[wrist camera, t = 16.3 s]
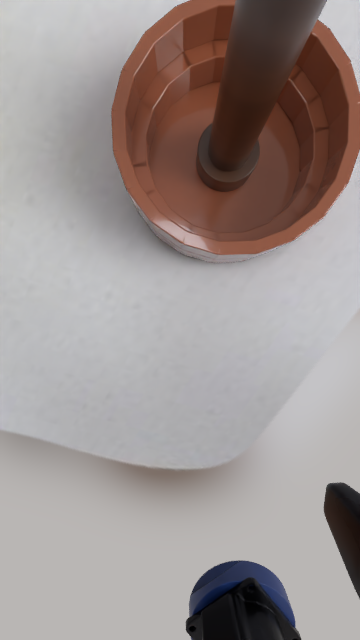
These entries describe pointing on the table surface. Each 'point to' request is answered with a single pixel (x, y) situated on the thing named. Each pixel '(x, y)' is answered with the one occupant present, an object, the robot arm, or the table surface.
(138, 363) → the table surface
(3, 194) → the table surface
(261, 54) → the brown peg
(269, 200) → the bowl
